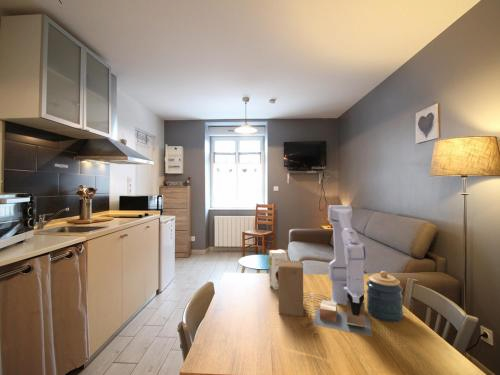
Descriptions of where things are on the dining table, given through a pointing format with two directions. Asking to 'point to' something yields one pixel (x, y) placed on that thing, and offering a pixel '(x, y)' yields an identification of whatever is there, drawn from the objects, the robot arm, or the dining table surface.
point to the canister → (384, 297)
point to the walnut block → (354, 318)
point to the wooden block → (290, 288)
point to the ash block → (328, 310)
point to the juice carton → (275, 266)
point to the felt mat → (343, 323)
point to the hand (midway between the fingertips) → (355, 314)
